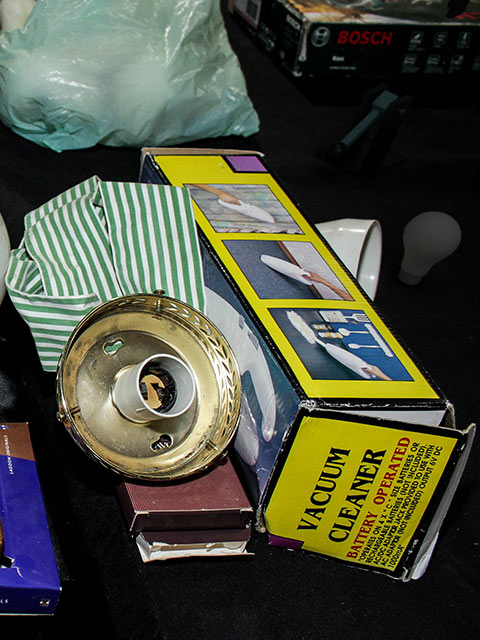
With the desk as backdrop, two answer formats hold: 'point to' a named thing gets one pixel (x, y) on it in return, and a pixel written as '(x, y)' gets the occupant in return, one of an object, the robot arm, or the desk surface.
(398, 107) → the switch bracket
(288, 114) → the desk surface
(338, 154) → the switch lever
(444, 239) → the lightbulb
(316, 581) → the desk surface
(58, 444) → the desk surface
